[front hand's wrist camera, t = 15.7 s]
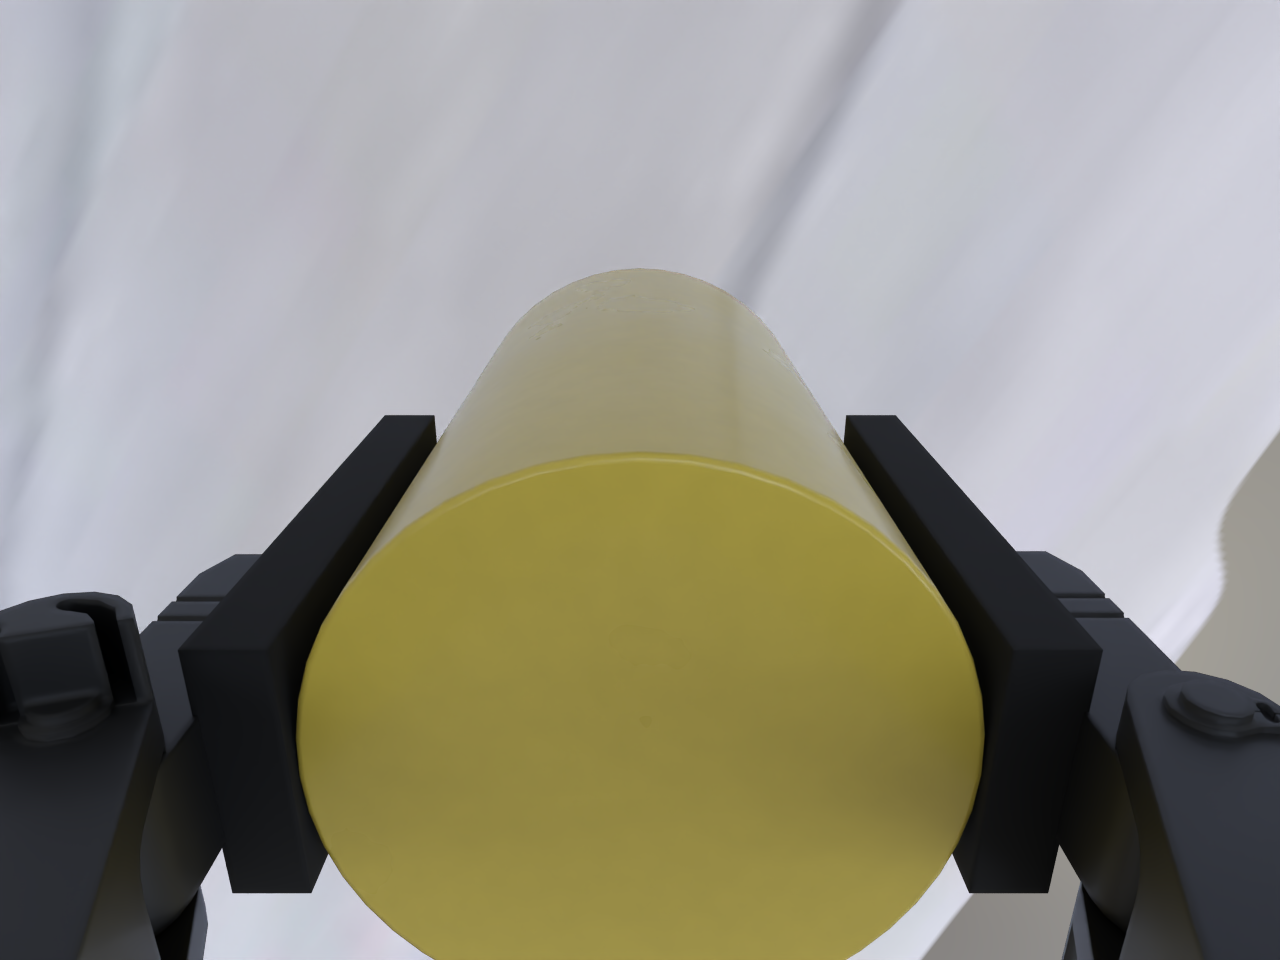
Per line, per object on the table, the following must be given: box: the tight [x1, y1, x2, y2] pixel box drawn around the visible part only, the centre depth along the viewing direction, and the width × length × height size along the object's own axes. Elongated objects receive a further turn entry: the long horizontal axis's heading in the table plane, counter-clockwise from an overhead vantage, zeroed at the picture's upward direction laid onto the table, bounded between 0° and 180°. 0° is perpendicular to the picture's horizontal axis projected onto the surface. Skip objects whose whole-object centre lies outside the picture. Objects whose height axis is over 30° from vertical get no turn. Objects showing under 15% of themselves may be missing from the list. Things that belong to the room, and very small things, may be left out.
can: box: [296, 269, 985, 960], centre depth 13 cm, size 6×6×10 cm
